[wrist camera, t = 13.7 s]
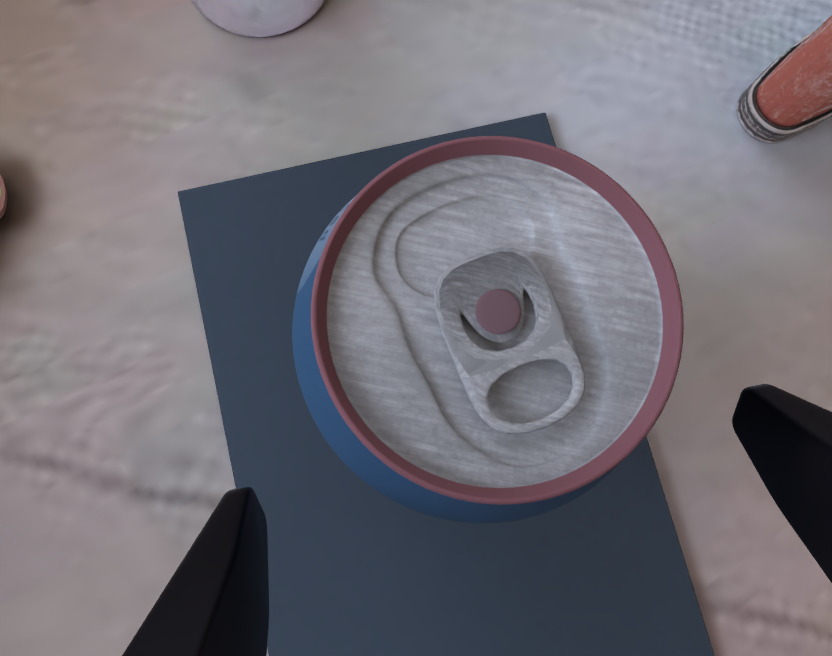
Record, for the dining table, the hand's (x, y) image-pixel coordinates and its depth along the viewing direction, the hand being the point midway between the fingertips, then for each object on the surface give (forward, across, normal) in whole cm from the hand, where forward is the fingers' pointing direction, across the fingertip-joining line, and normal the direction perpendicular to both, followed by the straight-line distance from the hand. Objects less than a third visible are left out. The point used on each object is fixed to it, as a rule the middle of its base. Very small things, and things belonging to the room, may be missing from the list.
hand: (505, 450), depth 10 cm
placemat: (+8, 0, +7) cm, 11 cm away
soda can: (+9, 0, +6) cm, 11 cm away
